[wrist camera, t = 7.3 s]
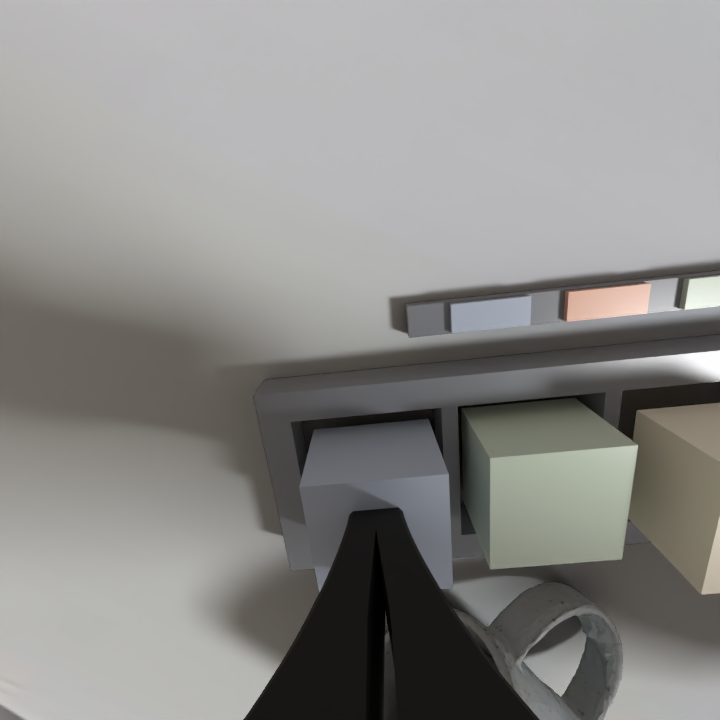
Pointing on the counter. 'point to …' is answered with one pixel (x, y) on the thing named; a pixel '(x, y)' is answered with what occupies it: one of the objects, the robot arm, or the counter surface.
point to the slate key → (378, 489)
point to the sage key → (546, 483)
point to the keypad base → (460, 388)
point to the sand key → (680, 488)
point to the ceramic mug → (522, 631)
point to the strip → (564, 304)
